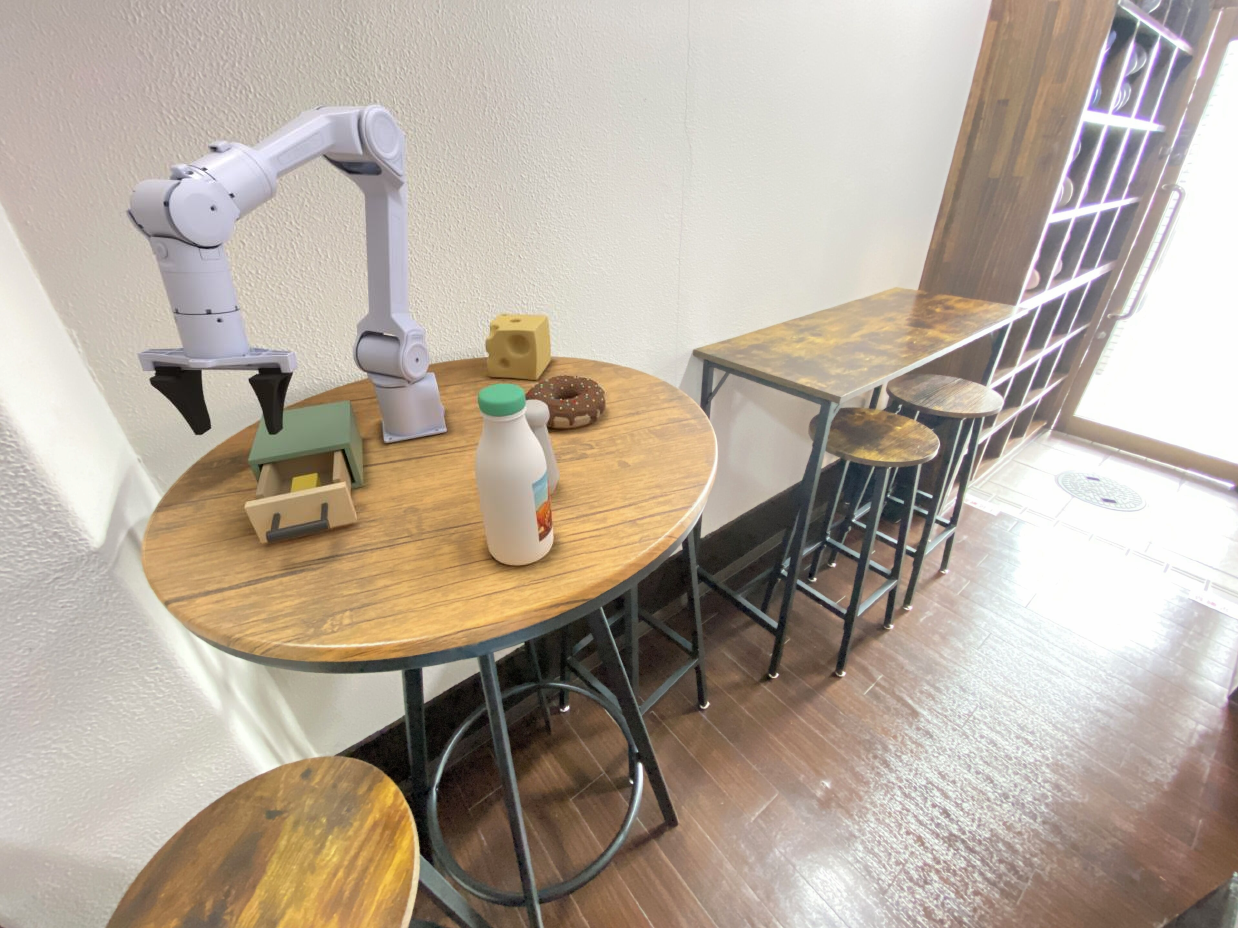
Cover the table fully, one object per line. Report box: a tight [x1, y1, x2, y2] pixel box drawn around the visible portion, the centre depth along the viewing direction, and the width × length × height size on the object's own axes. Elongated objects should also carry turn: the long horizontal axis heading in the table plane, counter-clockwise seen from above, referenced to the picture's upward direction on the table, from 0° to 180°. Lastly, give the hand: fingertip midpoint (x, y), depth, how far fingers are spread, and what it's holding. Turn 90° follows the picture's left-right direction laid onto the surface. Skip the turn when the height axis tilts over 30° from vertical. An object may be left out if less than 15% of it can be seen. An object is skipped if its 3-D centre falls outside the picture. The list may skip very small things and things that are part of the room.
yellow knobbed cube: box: [290, 473, 322, 493], centre depth 67 cm, size 3×6×3 cm, turn 23°
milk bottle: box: [474, 382, 554, 567], centre depth 58 cm, size 8×8×20 cm
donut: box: [525, 374, 607, 430], centre depth 90 cm, size 14×14×5 cm
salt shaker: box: [525, 400, 561, 496], centre depth 69 cm, size 6×6×13 cm
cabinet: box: [247, 399, 364, 490], centre depth 75 cm, size 14×12×7 cm
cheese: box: [484, 312, 552, 381], centre depth 105 cm, size 10×11×10 cm
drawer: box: [243, 449, 358, 545], centre depth 66 cm, size 17×10×5 cm, turn 23°
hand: (240, 431), depth 61 cm, fingers open, 7 cm apart
